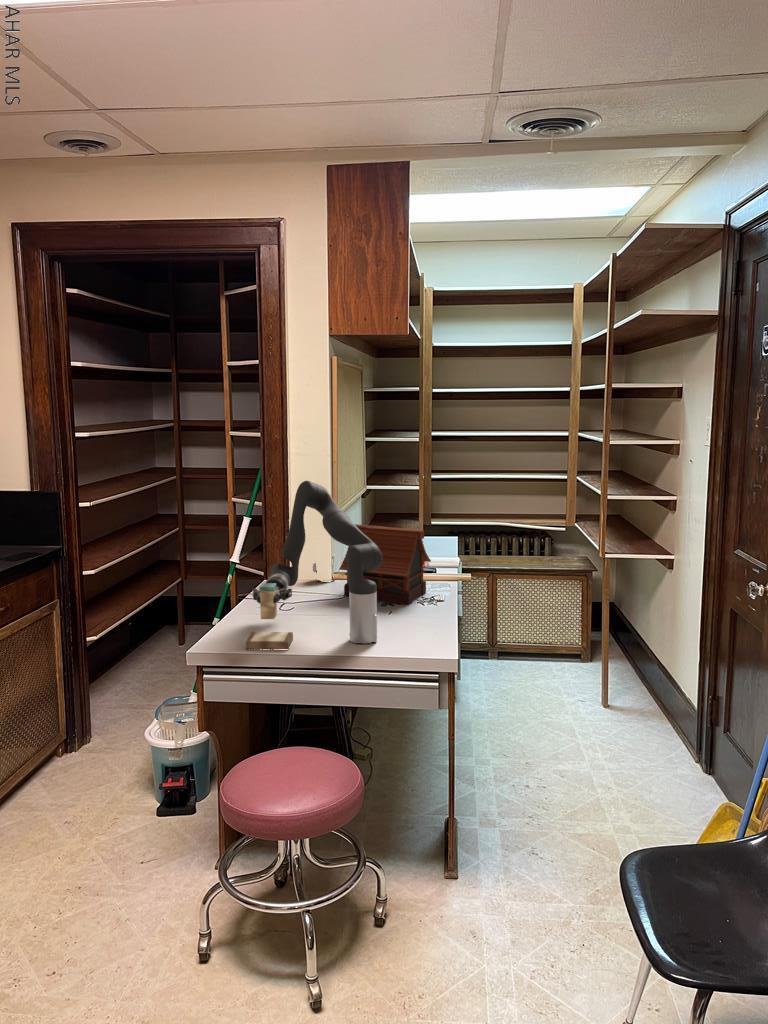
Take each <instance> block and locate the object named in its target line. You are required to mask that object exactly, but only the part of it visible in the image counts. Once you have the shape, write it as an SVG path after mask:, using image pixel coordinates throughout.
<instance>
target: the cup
mask: <svg viewBox="0 0 768 1024" xmlns="http://www.w3.org/2000/svg"><path fill="white" fill-rule="evenodd" d="M332 559H333V565H332V570H333V572H335V569H336V568H335V567H336V553H334V555H333V556H332ZM312 564H313V563H312ZM316 569H317V566H316V563H314V564H313V566H312V572H313V573H315V572H316V573H315V574H317V570H316Z"/></svg>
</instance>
